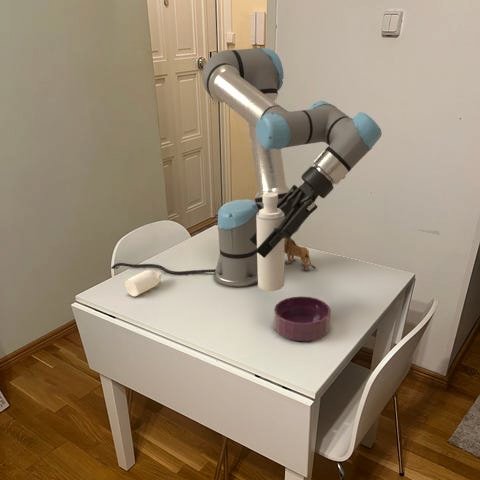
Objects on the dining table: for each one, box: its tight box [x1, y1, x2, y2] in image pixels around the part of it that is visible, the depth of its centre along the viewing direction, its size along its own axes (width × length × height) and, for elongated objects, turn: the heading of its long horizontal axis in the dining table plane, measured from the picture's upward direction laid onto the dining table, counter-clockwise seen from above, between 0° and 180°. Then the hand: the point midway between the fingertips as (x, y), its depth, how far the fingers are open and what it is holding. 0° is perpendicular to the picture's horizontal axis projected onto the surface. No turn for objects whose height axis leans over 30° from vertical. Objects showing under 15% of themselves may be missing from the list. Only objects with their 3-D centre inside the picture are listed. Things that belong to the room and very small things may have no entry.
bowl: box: [273, 295, 332, 342], centre depth 126 cm, size 14×14×6 cm
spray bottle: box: [256, 192, 285, 292], centre depth 119 cm, size 7×7×25 cm
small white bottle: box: [124, 269, 162, 297], centre depth 149 cm, size 6×12×6 cm, turn 140°
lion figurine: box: [284, 237, 316, 271], centre depth 159 cm, size 15×5×9 cm, turn 50°
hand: (256, 248), depth 119 cm, fingers closed on spray bottle, 7 cm apart
